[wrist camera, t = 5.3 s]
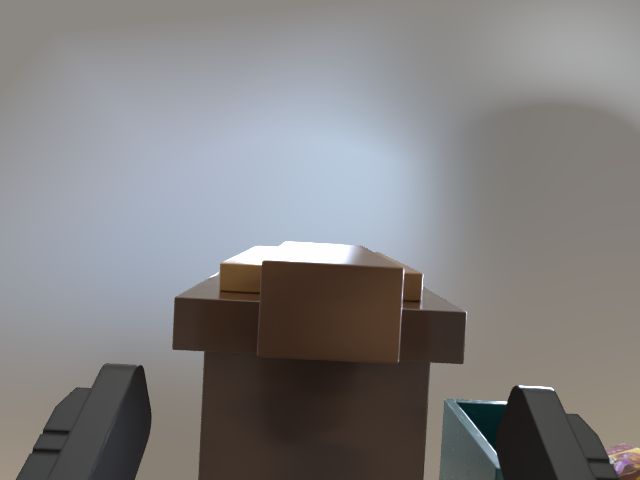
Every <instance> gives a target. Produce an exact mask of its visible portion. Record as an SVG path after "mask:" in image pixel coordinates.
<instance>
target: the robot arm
mask: <svg viewBox="0 0 640 480" xmlns="http://www.w3.org/2000/svg"><path fill="white" fill-rule="evenodd" d="M150 428H151V408H150V402H149V396H148V391H147V384H146V378H145V373H144V368H143V366H142V365H128V364H109V363H107V364H105V365H103V367H102V368H101V370H100V372H99V374H98V376H97V378H96V380H95V382H94V384H93V386H92V388H75V389H74V390H73V391H72V392H71V393H70V394H69V395H68V396H67V397H66V398H65V399H63V400H62V401H61V402H60V403H59V404H58V405H57V406H56V407H55V409H54V411H53V413H52V414H51V416H50V418H49V420H48V422H47V423H46V426H45V427H44V429H43V434H41V435H40V436H39V438H38V440H37V442H36V444H35V445H34V447H33V452H32V454H30V455H29V457H28V458H27V460H26V462H25V464H24V466H23V467H22V469H21V471H20V473H19V475H18V476H17V478H16V480H135V477H136V474H137V471H138V468H139V465H140V462H141V459H142V457H143V454H144V451H145V448H146V444H147V442H148V438H149V434H150ZM496 452H497V458H498V462H499V465H500V468H501V472H502V475H503V478H504V480H620V478H619V476H618V474H617V472H616V470H615V468H614V466H613V464H610V458H609V456H608V454H607V452H606V450H605V448H604V446H603V445H602V442H601V441H600V439H599V437H598V435H597V434H596V433H595V432H594V431H593V430H592V429H591V428H590V427H589V426H588V424H586V422H585V421H584V420H583V419H582V418H581V417H580V416H579V415H578V414H566V413H565V411H564V409H563V407H562V405H561V402H560V400H559V398H558V396H557V394H556V392H555V391H554V390H553V389H552V388H550V387H533V386H514V387H513V389H512V391H511V393H510V396H509V399H508V401H507V404H506V407H505V410H504V412H503V415H502V418H501V421H500V424H499V426H498V429H497V434H496Z"/></svg>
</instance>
